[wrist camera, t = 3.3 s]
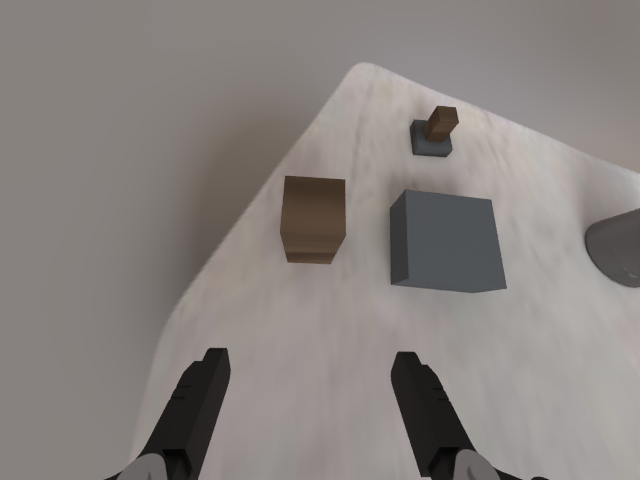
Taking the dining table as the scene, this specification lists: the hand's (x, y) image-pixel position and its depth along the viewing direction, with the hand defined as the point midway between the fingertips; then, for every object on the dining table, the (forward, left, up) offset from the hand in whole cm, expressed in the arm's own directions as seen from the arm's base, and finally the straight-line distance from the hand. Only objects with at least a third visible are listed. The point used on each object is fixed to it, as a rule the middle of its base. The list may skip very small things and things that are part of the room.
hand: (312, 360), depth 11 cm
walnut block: (-5, -9, -14) cm, 18 cm away
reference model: (-28, -15, -14) cm, 35 cm away
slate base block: (-18, -2, -14) cm, 23 cm away
